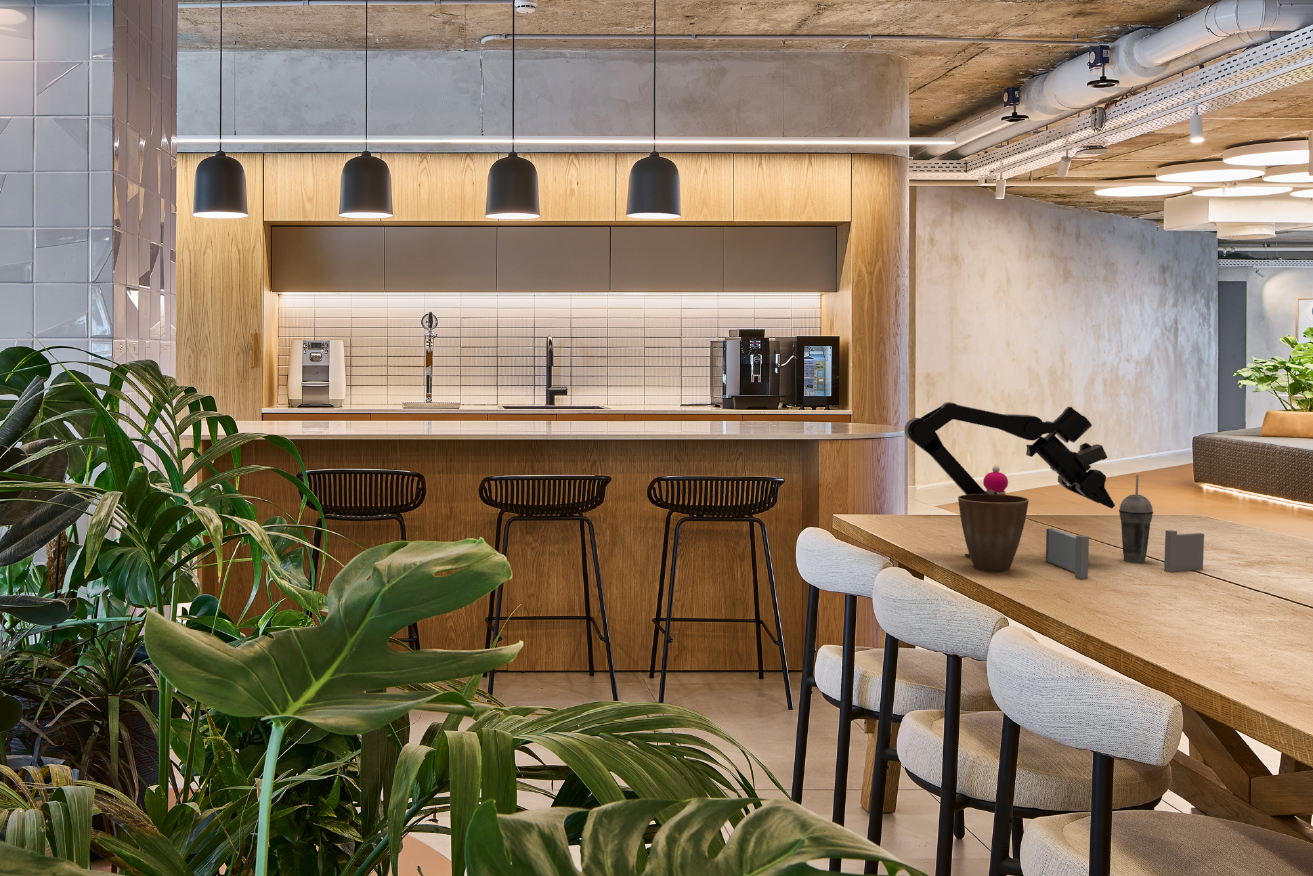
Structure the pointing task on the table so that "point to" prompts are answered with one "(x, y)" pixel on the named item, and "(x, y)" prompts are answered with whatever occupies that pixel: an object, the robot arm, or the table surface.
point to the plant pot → (992, 528)
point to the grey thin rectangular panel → (1061, 549)
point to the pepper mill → (996, 481)
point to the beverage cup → (1135, 526)
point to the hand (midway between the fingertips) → (1106, 504)
